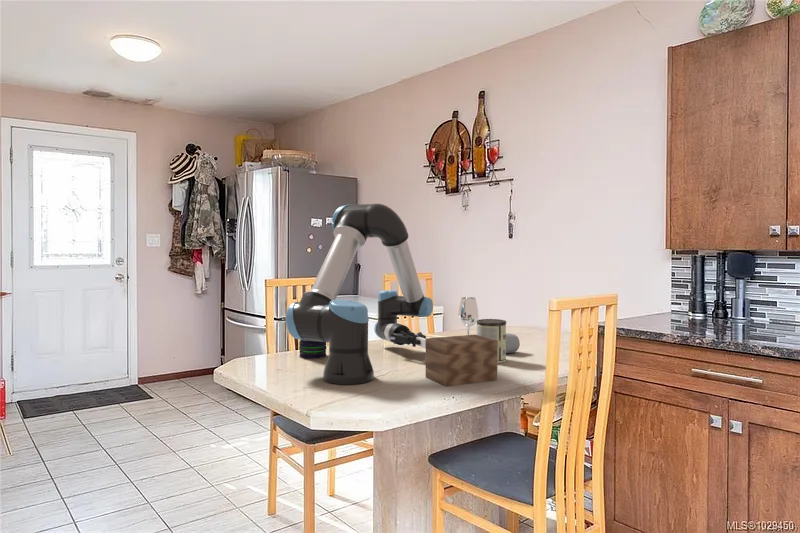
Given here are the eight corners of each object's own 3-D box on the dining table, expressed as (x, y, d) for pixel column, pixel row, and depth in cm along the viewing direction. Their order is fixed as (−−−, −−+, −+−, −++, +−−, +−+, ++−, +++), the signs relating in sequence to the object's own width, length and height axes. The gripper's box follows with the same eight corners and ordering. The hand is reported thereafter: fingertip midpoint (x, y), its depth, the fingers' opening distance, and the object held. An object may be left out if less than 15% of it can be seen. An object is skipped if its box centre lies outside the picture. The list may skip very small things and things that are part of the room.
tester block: (445, 386, 158) (445, 344, 158) (425, 377, 169) (425, 338, 169) (497, 380, 166) (497, 340, 166) (475, 371, 177) (475, 334, 177)
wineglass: (479, 350, 214) (479, 298, 213) (459, 350, 214) (459, 298, 214) (476, 346, 222) (477, 297, 221) (457, 346, 222) (457, 296, 221)
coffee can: (475, 357, 201) (476, 318, 200) (504, 358, 200) (505, 319, 199) (476, 363, 191) (477, 322, 190) (507, 363, 190) (507, 322, 189)
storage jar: (318, 359, 195) (318, 317, 195) (293, 357, 199) (293, 316, 198) (331, 354, 204) (331, 314, 204) (307, 353, 208) (307, 313, 207)
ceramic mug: (521, 353, 208) (521, 333, 208) (505, 355, 204) (505, 334, 204) (501, 349, 217) (501, 330, 217) (485, 351, 213) (485, 331, 212)
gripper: (413, 342, 212) (443, 353, 190) (381, 345, 206) (409, 356, 185) (413, 323, 211) (443, 331, 190) (381, 324, 206) (409, 334, 185)
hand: (426, 343), depth 187 cm, fingers closed
